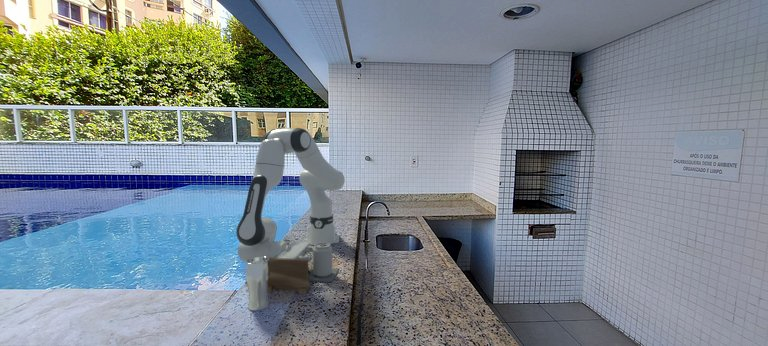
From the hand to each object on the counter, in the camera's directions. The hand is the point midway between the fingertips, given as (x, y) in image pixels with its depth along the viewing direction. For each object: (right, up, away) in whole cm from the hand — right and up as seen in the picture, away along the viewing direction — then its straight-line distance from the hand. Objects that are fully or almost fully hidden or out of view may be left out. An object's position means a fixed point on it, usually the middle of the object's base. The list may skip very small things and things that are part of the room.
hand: (314, 254), depth 121 cm
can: (+3, -8, 0) cm, 9 cm away
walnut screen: (-7, -9, -12) cm, 16 cm away
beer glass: (-13, -10, -23) cm, 28 cm away
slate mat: (+3, -8, 0) cm, 9 cm away
